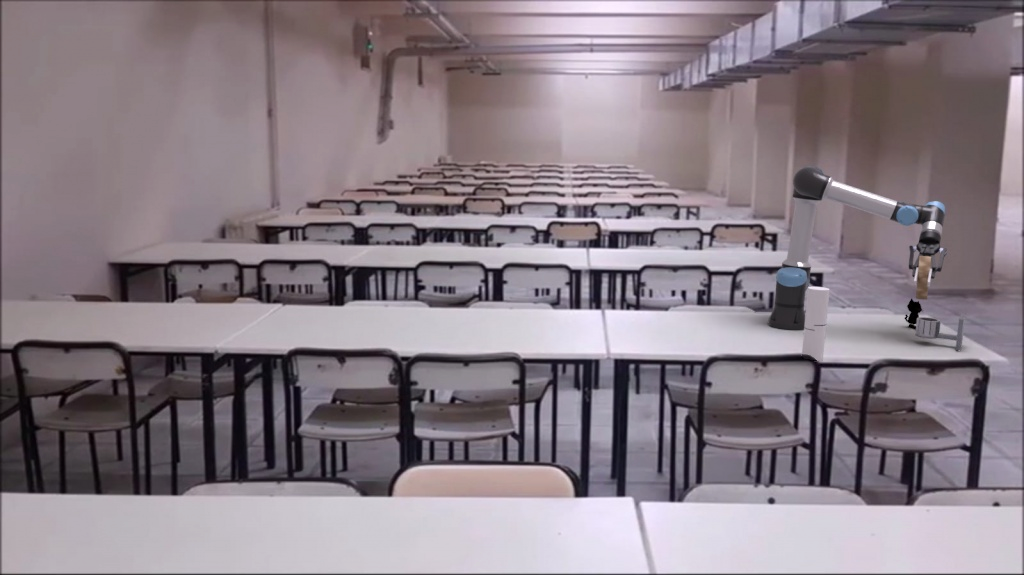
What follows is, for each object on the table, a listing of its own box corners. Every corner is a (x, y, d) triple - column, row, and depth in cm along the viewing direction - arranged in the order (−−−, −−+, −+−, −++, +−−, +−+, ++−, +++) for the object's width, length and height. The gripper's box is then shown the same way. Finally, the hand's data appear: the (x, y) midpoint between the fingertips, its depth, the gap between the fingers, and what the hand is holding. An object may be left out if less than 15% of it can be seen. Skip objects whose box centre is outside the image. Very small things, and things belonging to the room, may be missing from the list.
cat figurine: (924, 329, 371) (927, 301, 369) (908, 329, 371) (911, 300, 369) (915, 325, 378) (918, 297, 376) (899, 325, 378) (903, 297, 376)
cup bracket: (912, 345, 343) (916, 314, 341) (916, 339, 353) (919, 309, 351) (959, 351, 335) (963, 319, 333) (961, 345, 345) (965, 314, 343)
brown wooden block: (915, 298, 343) (919, 256, 340) (916, 297, 346) (920, 255, 344) (926, 299, 341) (930, 257, 338) (927, 298, 345) (931, 256, 342)
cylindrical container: (824, 361, 313) (830, 290, 309) (802, 360, 315) (809, 289, 310) (821, 356, 320) (827, 287, 316) (800, 355, 322) (806, 286, 317)
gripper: (954, 243, 349) (946, 292, 338) (906, 240, 358) (897, 287, 346) (954, 231, 344) (947, 279, 333) (906, 228, 352) (897, 275, 341)
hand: (921, 283), depth 339 cm, fingers closed on brown wooden block, 4 cm apart
